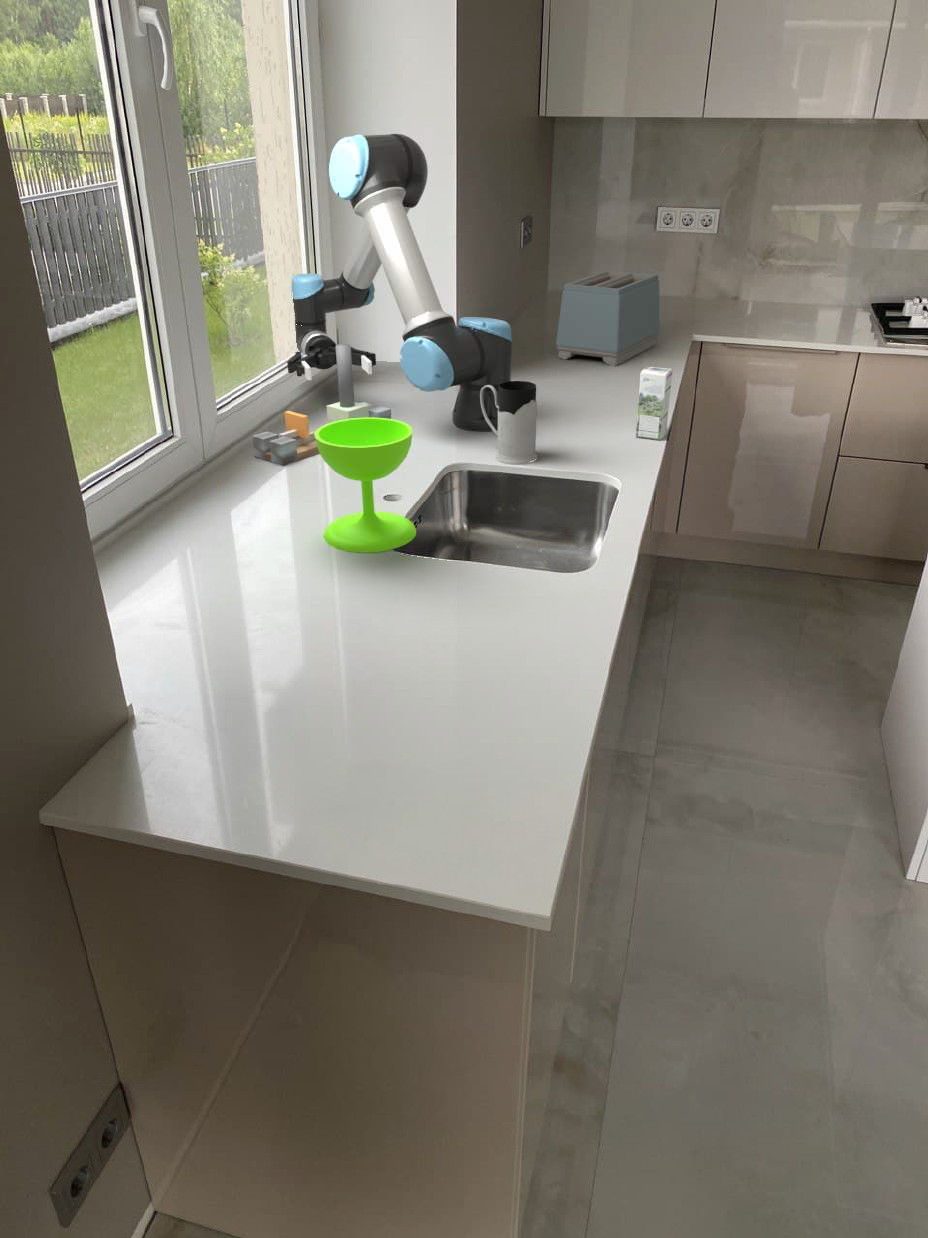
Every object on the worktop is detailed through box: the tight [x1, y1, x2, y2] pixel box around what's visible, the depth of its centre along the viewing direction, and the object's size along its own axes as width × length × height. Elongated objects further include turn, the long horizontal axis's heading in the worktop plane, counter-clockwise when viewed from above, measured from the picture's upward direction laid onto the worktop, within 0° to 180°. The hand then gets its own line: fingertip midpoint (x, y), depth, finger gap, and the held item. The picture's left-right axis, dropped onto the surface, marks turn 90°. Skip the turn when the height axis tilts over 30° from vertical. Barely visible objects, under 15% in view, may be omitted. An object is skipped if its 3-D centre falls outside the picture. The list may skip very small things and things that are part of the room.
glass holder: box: [480, 380, 538, 465], centre depth 195 cm, size 9×14×15 cm, turn 48°
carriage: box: [325, 343, 369, 422], centre depth 206 cm, size 7×6×16 cm
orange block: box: [278, 410, 310, 438], centre depth 198 cm, size 6×5×4 cm
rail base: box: [252, 401, 392, 467], centre depth 206 cm, size 9×32×4 cm, turn 140°
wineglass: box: [314, 418, 417, 554], centre depth 159 cm, size 16×16×18 cm
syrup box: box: [635, 366, 673, 441], centre depth 205 cm, size 6×6×14 cm
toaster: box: [555, 269, 660, 367], centre depth 274 cm, size 19×35×20 cm, turn 148°
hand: (340, 371), depth 208 cm, fingers open, 13 cm apart
